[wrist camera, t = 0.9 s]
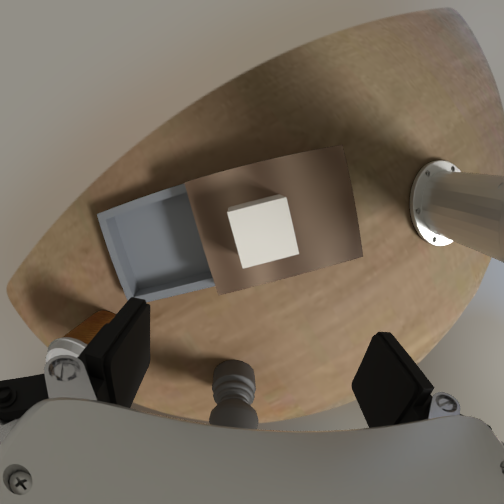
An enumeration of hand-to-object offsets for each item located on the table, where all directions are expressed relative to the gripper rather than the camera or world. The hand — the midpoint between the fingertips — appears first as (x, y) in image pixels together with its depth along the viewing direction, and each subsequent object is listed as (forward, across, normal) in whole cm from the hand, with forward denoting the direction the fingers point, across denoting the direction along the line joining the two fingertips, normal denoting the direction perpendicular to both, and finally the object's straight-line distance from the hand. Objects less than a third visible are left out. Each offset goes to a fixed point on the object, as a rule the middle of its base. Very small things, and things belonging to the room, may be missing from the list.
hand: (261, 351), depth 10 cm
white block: (+18, 0, -2) cm, 18 cm away
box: (+23, +11, +3) cm, 26 cm away
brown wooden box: (+24, -2, -3) cm, 24 cm away
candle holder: (+24, -1, +22) cm, 32 cm away
